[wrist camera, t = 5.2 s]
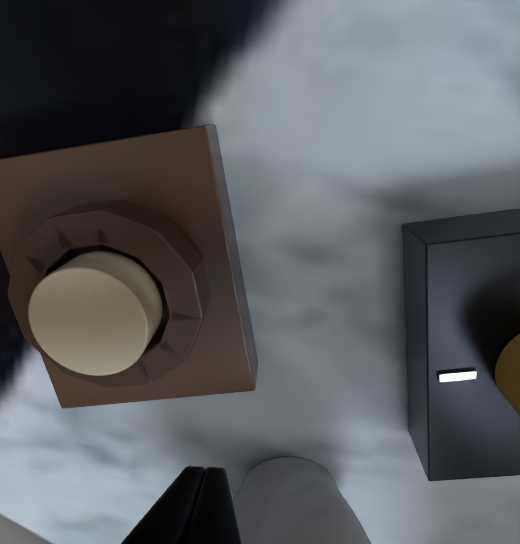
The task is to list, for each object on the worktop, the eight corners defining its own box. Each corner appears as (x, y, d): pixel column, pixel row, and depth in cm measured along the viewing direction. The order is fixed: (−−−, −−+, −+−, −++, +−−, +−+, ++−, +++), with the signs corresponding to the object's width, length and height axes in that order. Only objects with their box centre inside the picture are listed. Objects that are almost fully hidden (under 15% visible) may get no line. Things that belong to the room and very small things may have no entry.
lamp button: (173, 344, 15) (160, 370, 14) (74, 354, 16) (50, 381, 14) (148, 243, 14) (130, 259, 12) (40, 258, 14) (9, 275, 13)
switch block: (258, 362, 20) (252, 420, 16) (83, 380, 21) (39, 438, 17) (215, 124, 16) (195, 125, 12) (4, 158, 17) (-75, 170, 13)
